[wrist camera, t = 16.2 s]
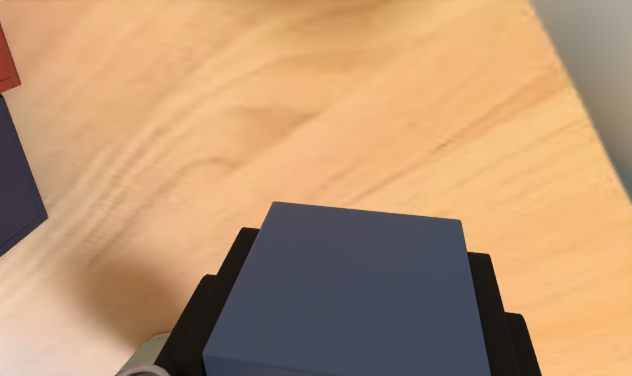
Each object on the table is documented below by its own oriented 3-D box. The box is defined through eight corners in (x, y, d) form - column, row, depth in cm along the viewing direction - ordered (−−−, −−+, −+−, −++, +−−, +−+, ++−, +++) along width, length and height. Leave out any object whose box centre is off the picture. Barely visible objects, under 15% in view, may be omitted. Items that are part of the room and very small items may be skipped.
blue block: (272, 200, 10) (199, 353, 7) (461, 218, 10) (497, 400, 6) (280, 324, 13) (229, 490, 9) (433, 346, 12) (446, 534, 8)
